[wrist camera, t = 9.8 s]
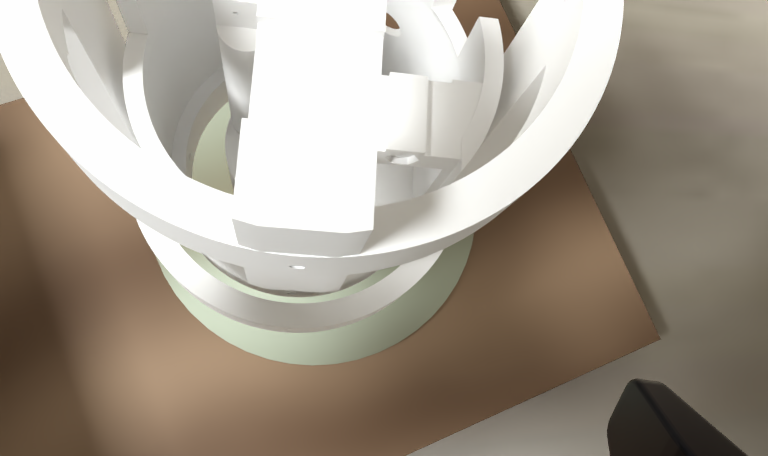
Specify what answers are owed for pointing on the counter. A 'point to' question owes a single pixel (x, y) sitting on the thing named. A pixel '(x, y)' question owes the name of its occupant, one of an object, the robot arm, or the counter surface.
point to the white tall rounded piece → (310, 131)
